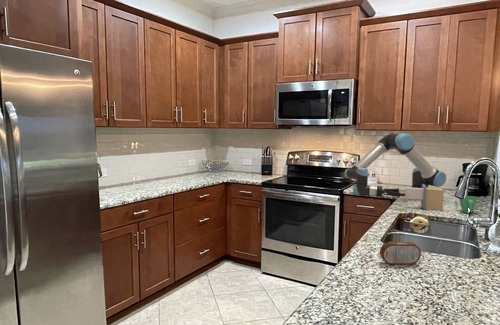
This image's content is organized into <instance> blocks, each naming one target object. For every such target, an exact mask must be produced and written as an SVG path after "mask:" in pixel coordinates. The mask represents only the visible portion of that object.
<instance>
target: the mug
mask: <svg viewBox="0 0 500 325" xmlns="http://www.w3.org/2000/svg"><path fill="white" fill-rule="evenodd" d="M465 196H466V198H465V199H459V204H460V208H461V211H462V213H464V214H468V213H467V212H468V208H469V209H470V212H471V213H470V214H472V213H473V212H474V210H475V208H476V206H477V203H478V197H477V196H471V195H465Z"/></svg>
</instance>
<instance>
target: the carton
mask: <svg viewBox="0 0 500 325" xmlns="http://www.w3.org/2000/svg"><path fill="white" fill-rule="evenodd" d="M444 192H445V190H444V189H443V188H441V187H432V186H431V187H430V186H428V187H426V203H425V209H429V210H428V211H437V210H440V211H439V212H442V211H443V209H444ZM425 209H424V210H425Z"/></svg>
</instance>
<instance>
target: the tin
mask: <svg viewBox="0 0 500 325" xmlns="http://www.w3.org/2000/svg"><path fill="white" fill-rule="evenodd" d="M379 256H380V258H381V259H382V260H383V261H384V262H385V263H387V264H389V265H406V264H407V265H408V264H409V265H410V266H411V265H414V264H417V262H419V261H420V259H421V257H422V251H421V248H420V247H419V246H418V245H417V244H416V243H415V242H413V241H387V242H385V243H383V245H381V247H380V249H379ZM409 265H408V266H409Z"/></svg>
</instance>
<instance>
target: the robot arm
mask: <svg viewBox="0 0 500 325" xmlns="http://www.w3.org/2000/svg"><path fill="white" fill-rule="evenodd" d="M414 140H415V139H414V137H413V136H412V135H411V134H409V133H405V132H404V133H403V132H402V133H401V132H399V133H395V132H394V133H389V134H386V135H385V136H383V137H382V138H381V139H380V140H378V141H377V142H376V143H375V146H373V148H371V149H370V150H369V152H367V153H366V154H365V155H364V156H363V157H362V158H360V160H358V161H357V162H356V163H355V164H354V165H353V166H352V167H350V168H346V169H345V170H344V177H345V178H346V179H349V180H353V181H355V182H356V184H353V185H352V186H353V187H352V194H353V195H355V196H363V197H364V196H365V197H371V198H373V197H378V198H382V197H383V196H387V197H388V196H391V197H394V198H395V197H397V198H398V199H399V198H400V197H401V198H403V197H404V198H405V197H411V193H405V188H404V189H402V188H401V189H399V188H400V187H397V188H386V187H385V188H383V185H369V184H368V180H369V170H368V167H370V166H371V165H372V164H373V163H374V162H375V161H376V160H377V159H379V157H380V156H381V155H383V154H384V153H387V152H388V151H390V150H396V151H397V152H398V153H399V154H400V155H404V156H405V157H406V158H407V160H408V161H410V162H411V163H412V164H413V166H414V168H413V169H412V174H411V175H412V177H411V178H412V180H411V187H410V188H422V184H424V185H425V186H426V187H430V186H431V187H434V188H441V187H443V186H444V185H445V184H446V182H447V174H446V173H445V172H444V171H441V170H438V168H437V167H436V166H434V165H431V164H430V163H429V161H428V160H427V159H425V157H424V156H423V155H422V154H421V153H420V151H419V150H417V148H416V147H415V142H414Z"/></svg>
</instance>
